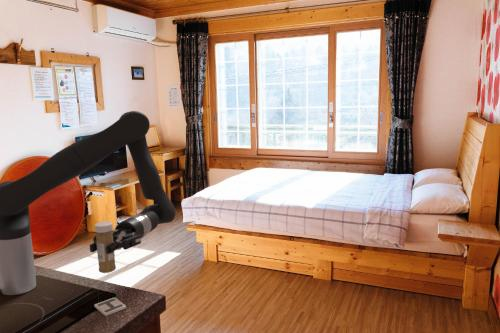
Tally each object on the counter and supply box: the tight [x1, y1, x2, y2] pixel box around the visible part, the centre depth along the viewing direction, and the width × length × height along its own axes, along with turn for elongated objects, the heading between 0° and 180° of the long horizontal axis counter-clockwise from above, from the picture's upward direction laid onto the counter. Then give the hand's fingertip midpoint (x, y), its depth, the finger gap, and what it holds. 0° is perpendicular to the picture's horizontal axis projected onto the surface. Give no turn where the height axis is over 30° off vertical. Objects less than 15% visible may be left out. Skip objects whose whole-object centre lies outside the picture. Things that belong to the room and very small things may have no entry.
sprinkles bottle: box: [94, 220, 117, 274], centre depth 108 cm, size 5×5×13 cm
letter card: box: [94, 296, 127, 317], centre depth 111 cm, size 7×6×1 cm
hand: (99, 249), depth 106 cm, fingers closed on sprinkles bottle, 4 cm apart
